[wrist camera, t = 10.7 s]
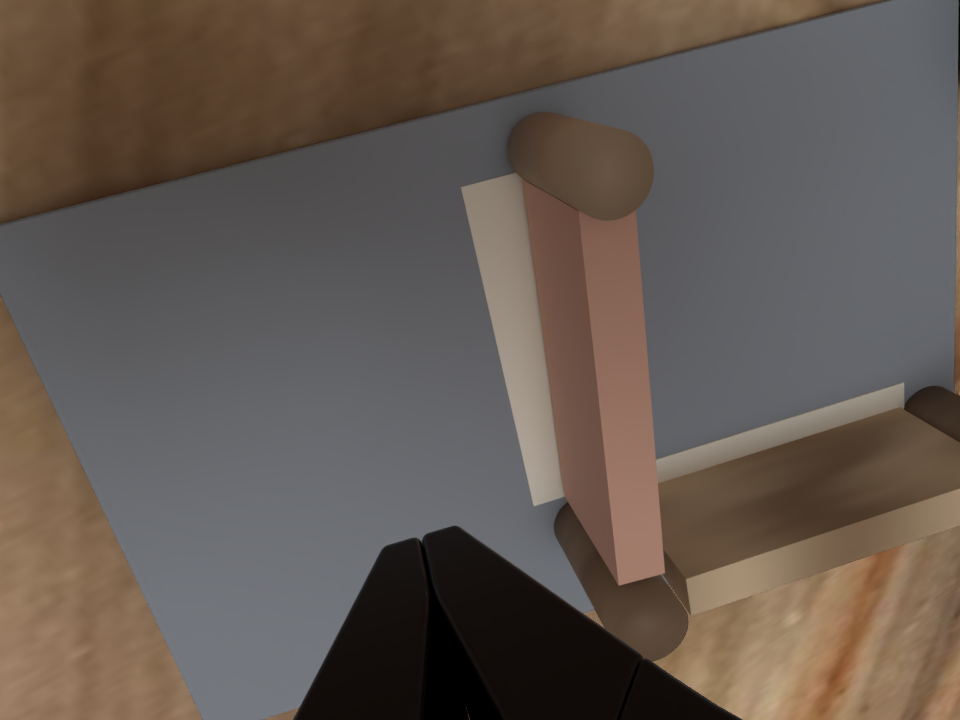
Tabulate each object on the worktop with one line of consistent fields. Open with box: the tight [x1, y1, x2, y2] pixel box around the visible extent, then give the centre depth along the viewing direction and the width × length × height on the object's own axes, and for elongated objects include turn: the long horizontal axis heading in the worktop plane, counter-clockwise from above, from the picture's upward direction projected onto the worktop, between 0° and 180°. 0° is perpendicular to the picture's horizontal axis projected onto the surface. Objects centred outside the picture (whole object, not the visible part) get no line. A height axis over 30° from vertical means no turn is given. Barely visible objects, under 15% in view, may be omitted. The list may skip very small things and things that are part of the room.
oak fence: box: [554, 386, 960, 662], centre depth 21 cm, size 12×2×5 cm, turn 103°
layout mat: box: [0, 0, 959, 720], centre depth 21 cm, size 23×14×1 cm, turn 103°
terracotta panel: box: [508, 112, 665, 586], centre depth 18 cm, size 10×2×4 cm, turn 9°
